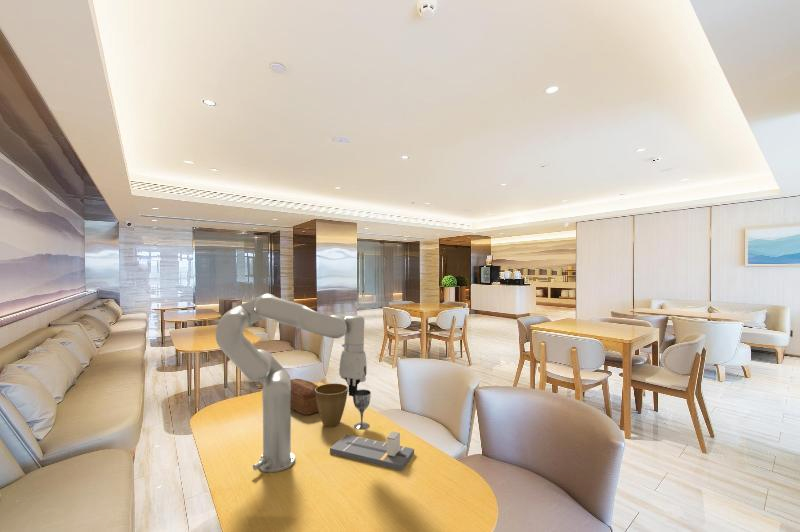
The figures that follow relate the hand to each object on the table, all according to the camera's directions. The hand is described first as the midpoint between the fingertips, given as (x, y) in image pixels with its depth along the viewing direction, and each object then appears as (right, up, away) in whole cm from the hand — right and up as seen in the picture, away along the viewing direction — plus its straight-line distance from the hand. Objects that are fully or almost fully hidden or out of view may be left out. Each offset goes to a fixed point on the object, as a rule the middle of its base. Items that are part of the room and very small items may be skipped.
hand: (352, 394), depth 136 cm
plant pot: (-13, -22, +24) cm, 35 cm away
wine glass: (+1, -22, +21) cm, 30 cm away
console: (+8, -22, -2) cm, 23 cm away
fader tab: (+16, -19, -6) cm, 26 cm away
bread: (-32, -22, +43) cm, 58 cm away
